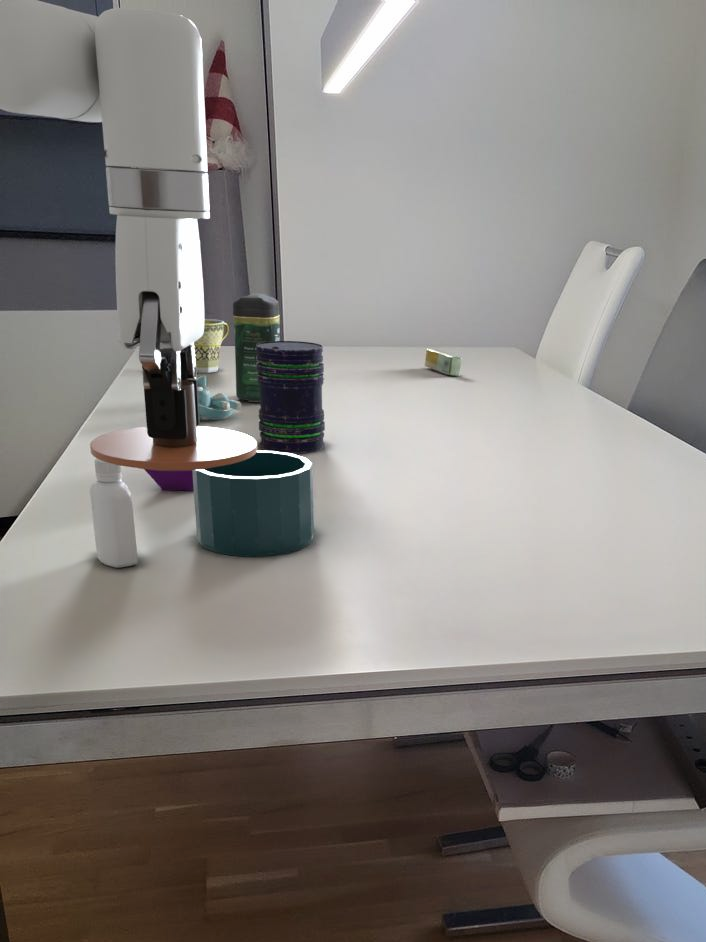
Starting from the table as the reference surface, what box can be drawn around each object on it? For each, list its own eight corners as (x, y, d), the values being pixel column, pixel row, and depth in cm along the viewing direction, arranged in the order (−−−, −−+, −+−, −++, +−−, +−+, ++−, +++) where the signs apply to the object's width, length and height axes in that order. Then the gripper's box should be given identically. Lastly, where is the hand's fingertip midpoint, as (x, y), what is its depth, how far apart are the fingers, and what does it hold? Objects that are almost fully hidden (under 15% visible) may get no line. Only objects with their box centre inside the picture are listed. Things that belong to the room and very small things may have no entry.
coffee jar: (276, 404, 188) (272, 297, 180) (232, 402, 188) (227, 295, 180) (286, 394, 197) (282, 292, 189) (244, 393, 197) (239, 290, 189)
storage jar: (292, 436, 164) (289, 339, 158) (338, 446, 159) (337, 346, 153) (245, 445, 157) (240, 344, 151) (292, 456, 151) (289, 352, 146)
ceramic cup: (201, 375, 212) (198, 325, 208) (167, 369, 217) (164, 320, 213) (246, 369, 222) (244, 320, 218) (213, 363, 227) (211, 316, 223)
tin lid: (68, 473, 81) (60, 393, 79) (118, 435, 94) (112, 365, 91) (242, 480, 82) (239, 402, 80) (268, 442, 95) (266, 373, 92)
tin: (186, 555, 110) (181, 476, 106) (211, 520, 121) (206, 448, 118) (306, 558, 110) (304, 480, 107) (319, 523, 122) (317, 452, 118)
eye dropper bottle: (142, 551, 110) (131, 439, 105) (136, 568, 105) (125, 452, 100) (98, 552, 109) (86, 439, 104) (91, 570, 104) (78, 452, 99)
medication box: (460, 376, 225) (462, 357, 224) (449, 375, 224) (452, 356, 223) (434, 366, 235) (436, 348, 233) (423, 366, 233) (425, 347, 232)
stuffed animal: (257, 385, 174) (191, 377, 165) (251, 428, 176) (186, 422, 167) (226, 376, 181) (161, 367, 173) (221, 417, 183) (157, 410, 175)
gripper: (138, 193, 87) (154, 410, 95) (74, 193, 72) (99, 453, 79) (228, 198, 88) (237, 414, 95) (183, 200, 72) (197, 457, 80)
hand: (174, 429), depth 87 cm, fingers closed on tin lid, 3 cm apart
